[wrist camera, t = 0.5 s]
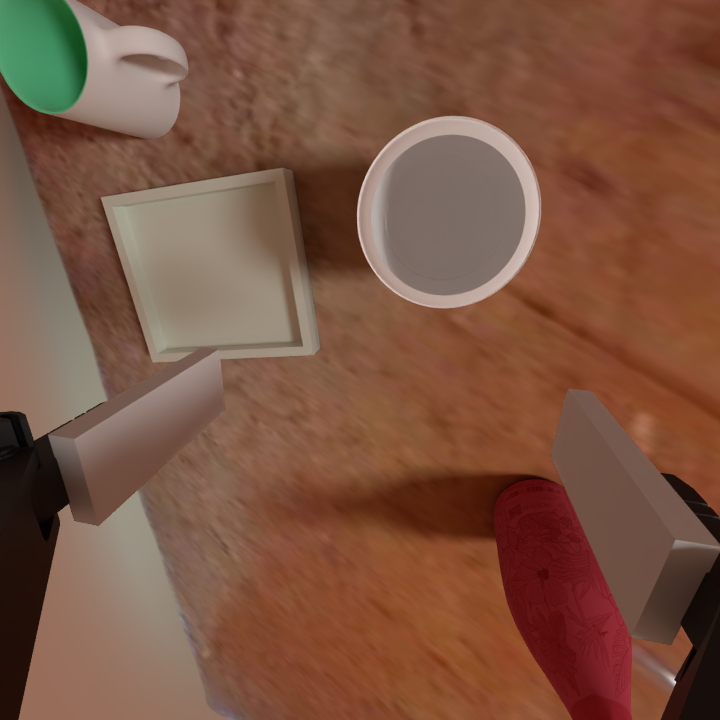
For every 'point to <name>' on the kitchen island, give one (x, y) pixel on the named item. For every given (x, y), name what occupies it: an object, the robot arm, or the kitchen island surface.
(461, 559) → the kitchen island surface
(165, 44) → the mug
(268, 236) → the tray
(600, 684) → the wine bottle
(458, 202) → the jar
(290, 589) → the kitchen island surface
